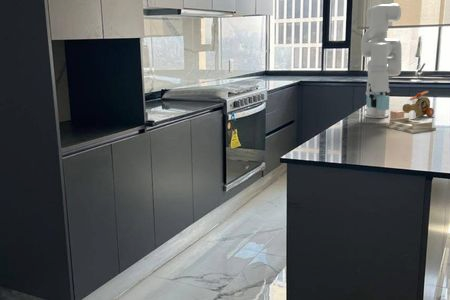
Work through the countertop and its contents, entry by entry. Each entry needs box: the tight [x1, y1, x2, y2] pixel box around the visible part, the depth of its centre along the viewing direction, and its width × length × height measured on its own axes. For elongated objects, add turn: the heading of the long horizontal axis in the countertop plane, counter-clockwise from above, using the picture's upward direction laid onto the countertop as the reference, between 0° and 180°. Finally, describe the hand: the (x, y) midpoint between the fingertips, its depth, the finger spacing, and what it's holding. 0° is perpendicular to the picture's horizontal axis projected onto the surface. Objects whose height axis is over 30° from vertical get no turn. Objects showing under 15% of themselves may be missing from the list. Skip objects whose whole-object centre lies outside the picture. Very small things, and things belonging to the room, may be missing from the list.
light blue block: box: [365, 93, 390, 111], centre depth 243 cm, size 12×4×6 cm, turn 22°
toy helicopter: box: [402, 90, 435, 118], centre depth 264 cm, size 8×21×14 cm, turn 122°
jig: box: [385, 117, 437, 134], centre depth 237 cm, size 18×14×4 cm
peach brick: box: [389, 109, 405, 120], centre depth 252 cm, size 4×5×6 cm
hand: (377, 106), depth 244 cm, fingers closed on light blue block, 4 cm apart
